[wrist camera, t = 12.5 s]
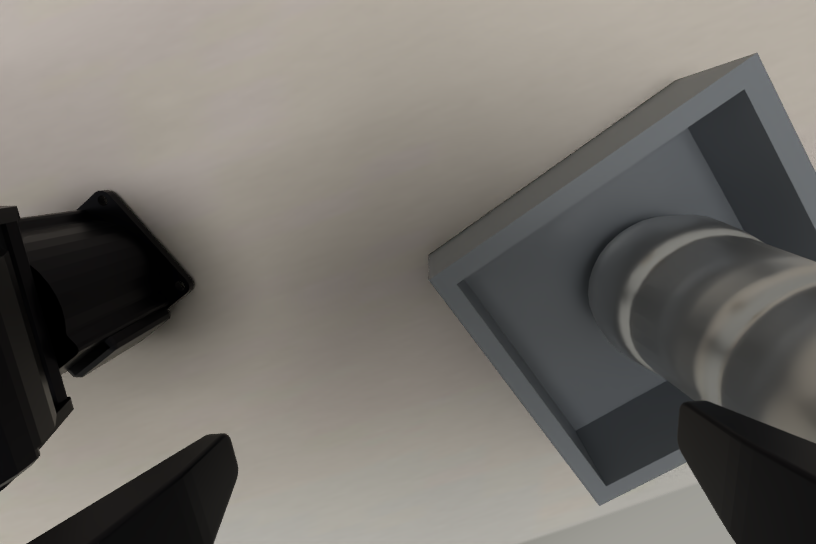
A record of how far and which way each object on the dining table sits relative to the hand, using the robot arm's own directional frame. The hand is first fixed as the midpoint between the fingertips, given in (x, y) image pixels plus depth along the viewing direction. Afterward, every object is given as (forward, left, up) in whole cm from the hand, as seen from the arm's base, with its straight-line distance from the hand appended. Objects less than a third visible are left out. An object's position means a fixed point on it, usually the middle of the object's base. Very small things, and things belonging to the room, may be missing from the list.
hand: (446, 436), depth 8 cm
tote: (+6, +7, -13) cm, 16 cm away
